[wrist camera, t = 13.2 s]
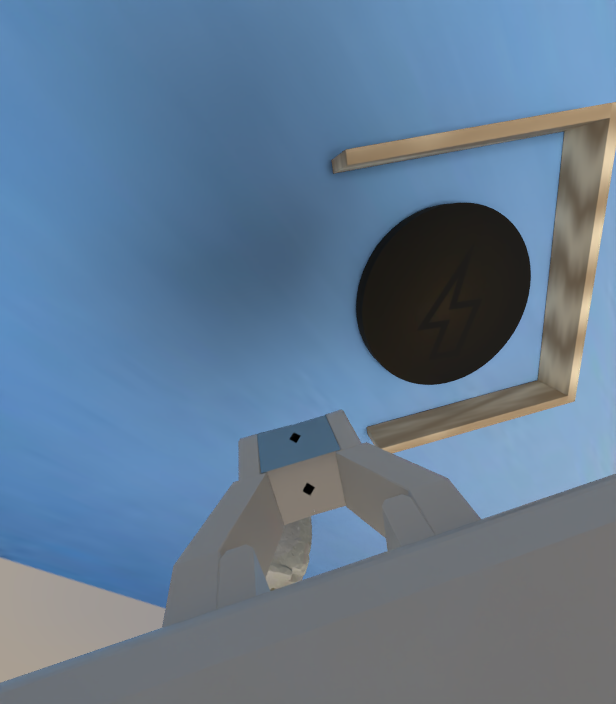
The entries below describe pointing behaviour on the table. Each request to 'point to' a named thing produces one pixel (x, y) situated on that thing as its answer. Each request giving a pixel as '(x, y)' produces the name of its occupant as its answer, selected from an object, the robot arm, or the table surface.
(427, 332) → the wireless charger
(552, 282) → the box
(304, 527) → the mineral specimen
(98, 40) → the table surface
